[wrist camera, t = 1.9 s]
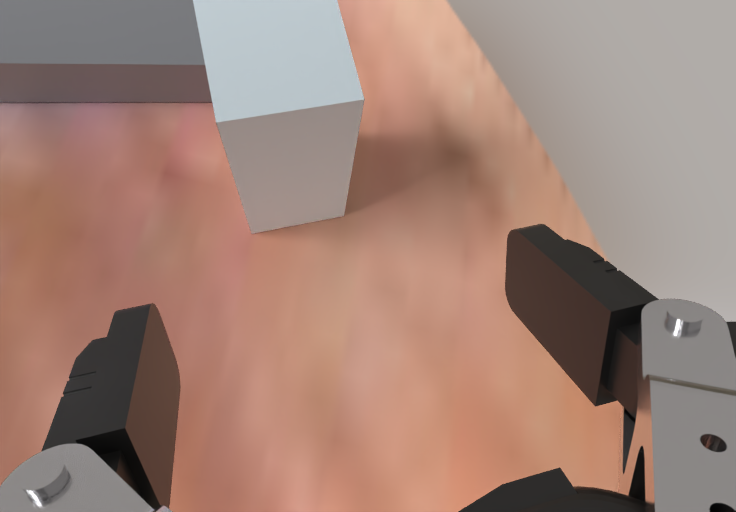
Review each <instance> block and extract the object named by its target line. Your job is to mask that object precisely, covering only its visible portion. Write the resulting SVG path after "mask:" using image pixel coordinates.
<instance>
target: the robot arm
mask: <svg viewBox="0 0 736 512" xmlns="http://www.w3.org/2000/svg"><path fill="white" fill-rule="evenodd" d="M505 290H506V296H507V300H508V303H509V305H510V307H511V309H512V311H513V312H514V313H515V314H516V316H517V317H518V318H519V319H520V320H521V321H522V323H523V324H524V325H525V326H526V327H527V328H528V329H529V331H530V332H531V333H532V334H533V335H534V336H535V338H536V339H537V340H538V341H539V342H540V343H541V344H542V346H543V347H544V348H545V349H546V350H547V351H548V352H549V354H550V355H551V356H552V357H553V358H554V359H555V361H556V362H557V363H558V364H559V365H560V366H561V367H562V369H563V370H564V371H565V372H566V373H567V374H568V376H569V377H570V378H571V379H572V380H573V381H574V382H575V384H576V385H577V386H578V387H579V388H580V389H581V391H582V392H583V393H584V394H585V395H586V396H587V397H588V399H589V400H590V401H591V402H592V403H593V404H594V406H599V405H602V404H606V403H610V402H613V401H617V400H618V401H619V402H620V403H621V405H622V406H623V407H622V412H621V418H620V452H619V489H618V493H617V492H613V491H610V490H604V489H599V488H591V487H573V486H572V484H571V483H570V482H569V480H568V479H567V477H566V476H565V474H564V473H563V471H562V470H561V468H557V469H553V470H550V471H546V472H543V473H540V474H536V475H533V476H529V477H526V478H523V479H519V480H516V481H512V482H509V483H506V484H502V485H501V486H499V487H498V488H496V489H494V490H493V491H491V492H489V493H488V494H486V495H485V496H483V497H481V498H480V499H478V500H476V501H475V502H473V503H472V504H470V505H468V506H467V507H465V508H463V509H462V510H460V511H459V512H736V322H726V321H725V320H724V319H723V318H722V317H721V316H720V315H719V314H718V313H716V312H715V311H713V310H712V309H710V308H708V307H706V306H703V305H701V304H698V303H695V302H691V301H687V300H681V299H660V300H659V299H657V298H656V297H655V296H653V295H652V294H651V293H649V292H648V291H647V290H645V289H644V288H643V287H641V286H640V285H639V284H637V283H636V282H635V281H633V280H632V279H631V278H629V277H628V276H626V275H625V274H624V273H622V272H621V271H617V268H616V267H614V266H613V265H612V264H610V263H609V262H608V261H604V258H602V257H601V256H600V255H598V254H597V253H596V252H594V251H593V250H592V249H590V248H589V247H586V246H584V245H581V244H578V243H576V242H573V241H571V240H568V239H567V240H564V239H563V238H562V237H560V236H559V235H558V234H556V233H555V232H554V231H552V230H551V229H550V228H549V227H547V226H546V225H544V224H538V225H534V226H529V227H524V228H519V229H514V230H511V231H510V232H509V234H508V238H507V256H506V280H505ZM63 394H64V397H61V400H60V403H59V405H58V408H57V411H56V414H55V416H54V419H53V422H52V424H51V427H50V430H49V432H48V435H47V438H46V441H45V443H44V446H43V449H42V451H41V452H40V453H38V454H36V455H34V456H33V457H31V458H29V459H28V460H26V461H25V462H23V463H22V464H21V465H20V466H18V467H17V468H16V469H15V470H14V471H13V472H12V473H11V474H10V475H9V476H8V477H7V478H6V479H5V481H4V482H3V483H2V485H1V486H0V512H172V511H171V510H170V509H169V505H170V494H171V483H172V473H173V462H174V451H175V440H176V430H177V419H178V408H179V397H180V376H179V370H178V365H177V361H176V358H175V355H174V353H173V350H172V347H171V344H170V341H169V339H168V336H167V333H166V330H165V327H164V324H163V322H162V319H161V316H160V313H159V311H158V309H157V307H156V305H155V304H153V303H152V304H147V305H142V306H137V307H132V308H128V309H123V310H118V311H116V312H115V313H114V316H113V319H112V322H111V325H110V329H109V332H108V335H107V337H105V338H100V339H95V340H92V341H91V343H90V344H89V345H88V346H87V347H86V348H85V349H84V350H83V351H82V352H81V353H80V355H79V356H78V357H77V358H76V360H75V362H74V365H73V368H72V370H71V373H70V376H69V381H67V384H66V387H65V389H64V392H63Z"/></svg>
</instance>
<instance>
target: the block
mask: <svg viewBox="0 0 736 512" xmlns="http://www.w3.org/2000/svg"><path fill="white" fill-rule="evenodd" d="M193 4H194V9H195V14H196V19H197V25H198V30H199V35H200V40H201V46H202V51H203V56H204V61H205V67H206V72H207V77H208V82H209V88H210V93H211V98H212V103H213V109H214V114H215V119H216V124H217V127H218V130H219V133H220V136H221V139H222V142H223V146H224V149H225V152H226V155H227V158H228V161H229V164H230V168H231V171H232V174H233V177H234V180H235V183H236V187H237V190H238V193H239V196H240V199H241V202H242V205H243V209H244V212H245V215H246V218H247V221H248V224H249V227H250V231H251V234H254V233H259V232H264V231H269V230H274V229H280V228H285V227H290V226H295V225H300V224H305V223H311V222H316V221H321V220H326V219H331V218H336V217H341V216H344V213H345V207H346V201H347V196H348V190H349V184H350V179H351V173H352V167H353V162H354V156H355V150H356V144H357V139H358V133H359V127H360V122H361V116H362V110H363V105H364V96H363V92H362V89H361V85H360V82H359V78H358V74H357V71H356V67H355V64H354V60H353V56H352V53H351V49H350V45H349V42H348V38H347V35H346V31H345V27H344V24H343V20H342V17H341V13H340V9H339V6H338V2H337V0H193Z"/></svg>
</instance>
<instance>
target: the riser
mask: <svg viewBox="0 0 736 512" xmlns="http://www.w3.org/2000/svg"><path fill="white" fill-rule="evenodd" d="M0 102H212V98H211V93H210V88H209V82H208V77H207V72H206V67H205V61H204V56H203V51H202V46H201V40H200V35H199V30H198V25H197V19H196V14H195V9H194V4H193V0H0Z"/></svg>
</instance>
